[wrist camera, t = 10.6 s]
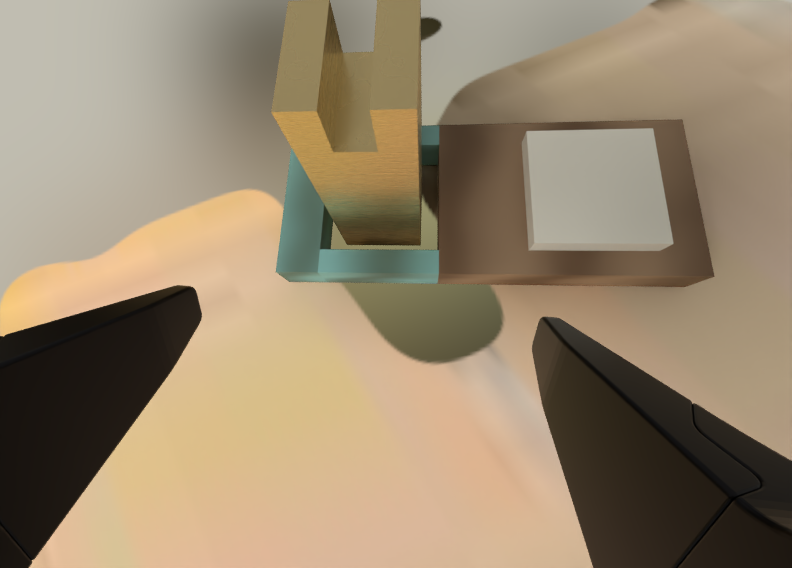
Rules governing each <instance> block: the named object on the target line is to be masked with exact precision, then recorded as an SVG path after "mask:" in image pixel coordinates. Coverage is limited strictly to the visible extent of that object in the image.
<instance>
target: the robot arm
mask: <svg viewBox="0 0 792 568" xmlns="http://www.w3.org/2000/svg"><path fill="white" fill-rule="evenodd" d="M201 318H202V313H201V309H200V305H199V301H198V297H197V293H196V290H195V289H194V288H193V287H191V286H181V285H177V286H173V287H169V288H166V289H162V290H159V291H155V292H152V293H148V294H145V295H141V296H138V297H134V298H131V299H128V300H124V301H121V302H117V303H114V304H110V305H107V306H103V307H100V308H96V309H93V310H89V311H86V312H83V313H79V314H76V315H72V316H69V317H65V318H62V319H58V320H55V321H51V322H48V323H45V324H41V325H38V326H34V327H31V328H27V329H24V330H20V331H17V332H13V333H10V334H7V335H5V336H4V337H3V336H0V568H29V567H30V565H31V564H32V560H34V559H35V558H36V556H37V555H38V554H39V552H40V551H41V550H42V548H43V547H44V546H45V544H46V543H47V541H48V540H49V539H50V537H51V536H52V535H53V533H54V532H55V530H56V529H57V528H58V526H59V525H60V524H61V522H62V521H63V519H64V518H65V517H66V515H67V514H68V513H69V511H70V510H71V508H72V507H73V506H74V504H75V503H76V502H77V500H78V499H79V497H80V496H81V495H82V493H83V492H84V491H85V489H86V488H87V486H88V485H89V484H90V482H91V481H92V480H93V478H94V477H95V475H96V474H97V473H98V471H99V470H100V469H101V467H102V466H103V464H104V463H105V462H106V460H107V459H108V458H109V456H110V455H111V454H112V452H113V451H114V449H115V448H116V447H117V445H118V444H119V443H120V441H121V440H122V438H123V437H124V436H125V434H126V433H127V432H128V430H129V429H130V427H131V426H132V425H133V423H134V422H135V421H136V419H137V418H138V416H139V415H140V414H141V412H142V411H143V410H144V408H145V407H146V405H147V404H148V403H149V401H150V400H151V399H152V397H153V396H154V394H155V393H156V392H157V390H158V389H159V388H160V386H161V385H162V383H163V382H164V381H165V379H166V378H167V377H168V375H169V374H170V372H171V371H172V369H173V368H174V366H175V365H176V363H177V361H178V360H179V358H180V356H181V355H182V353H183V351H184V349H185V348H186V346H187V344H188V343H189V341H190V339H191V337H192V336H193V334H194V332H195V330H196V329H197V327H198V325H199V324H200V321H201ZM532 352H533V358H534V364H535V369H536V374H537V380H538V385H539V391H540V396H541V401H542V405H543V409H544V412H545V416H546V419H547V422H548V425H549V428H550V432H551V435H552V438H553V441H554V444H555V447H556V451H557V454H558V457H559V460H560V463H561V466H562V470H563V473H564V476H565V479H566V482H567V485H568V489H569V492H570V495H571V498H572V501H573V505H574V508H575V511H576V514H577V517H578V520H579V524H580V527H581V530H582V533H583V536H584V539H585V543H586V546H587V549H588V552H589V555H590V558H591V562H592V565H593V568H792V461H791V460H789V459H787V458H786V457H784V456H782V455H780V454H779V453H777V452H775V451H774V450H772V449H770V448H768V447H767V446H765V445H763V444H761V443H760V442H758V441H756V440H754V439H753V438H751V437H749V436H748V435H746V434H744V433H742V432H741V431H739V430H738V429H736V428H734V427H733V426H731V425H729V424H728V423H726V422H724V421H723V420H721V419H719V418H718V417H716V416H715V415H713V414H711V413H710V412H708V411H707V410H705V409H703V408H702V407H700V406H699V405H697V404H695V403H694V404H692V402H691V401H690V400H689V399H687V398H686V397H684V396H683V395H681V394H679V393H678V392H676V391H675V390H673V389H671V388H670V387H668V386H667V385H665V384H663V383H662V382H660V381H659V380H657V379H655V378H654V377H652V376H651V375H649V374H647V373H646V372H644V371H643V370H641V369H639V368H638V367H636V366H635V365H633V364H631V363H630V362H628V361H627V360H625V359H623V358H622V357H620V356H619V355H617V354H615V353H614V352H612V351H611V350H609V349H607V348H606V347H604V346H603V345H601V344H600V343H598V342H596V341H595V340H593V339H592V338H590V337H588V336H587V335H585V334H584V333H582V332H580V331H579V330H577V329H576V328H574V327H572V326H571V325H569V324H568V323H566V322H564V321H563V320H561V319H559V318H554V317H542V318H541V319H540V321H539V323H538V327H537V330H536V334H535V337H534V341H533V345H532Z"/></svg>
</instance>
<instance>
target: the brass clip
mask: <svg viewBox="0 0 792 568" xmlns="http://www.w3.org/2000/svg"><path fill="white" fill-rule="evenodd" d="M420 10H421V8H420V0H377V12H376V26H375V40H374V52H355V53H354V52H353V53H343V52H342V48H341V44H340V40H339V36H338V31H337V28H336V23H335V19H334V16H333V11H332V7H331V3H330V0H304V1H289V2H288V7H287V13H286V20H285V26H284V33H283V40H282V46H281V52H280V59H279V66H278V72H277V79H276V85H275V92H274V98H273V105H272V111H271V112H272V114H273V116H274V117H275V119H276V121H277V123H278V125H279V126H280V128H281V130H282V132H283V133H284V135H285V137H286V139H287V140H288V142H289V144H290V145H291V147H292V149H293V151H294V153H295V154H296V156H297V158H298V160H299V161H300V163H301V165H302V167H303V168H304V170H305V172H306V174H307V175H308V177H309V179H310V181H311V182H312V184H313V186H314V188H315V189H316V191H317V193H318V195H319V196H320V198H321V200H322V202H323V203H324V205H325V207H326V209H327V210H328V212H329V214H330V216H331V217H332V219H333V221H334V222H335V224H336V226H337V228H338V229H339V231H340V233H341V235H342V236H343V238H344V240H345V242H346V243H347V245H420V244H421V201H422V125H421V124H422V122H421V12H420Z"/></svg>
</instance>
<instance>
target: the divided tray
mask: <svg viewBox="0 0 792 568" xmlns="http://www.w3.org/2000/svg"><path fill="white" fill-rule="evenodd" d="M422 165H438V250H349V249H348V250H347V249H340V250H339V249H331V237H332V226H333V219H332V217H331V216H330V214H329V212H328V210H327V209H326V207H325V205H324V203H323V202H322V200H321V198H320V196H319V195H318V193H317V191H316V189H315V188H314V186H313V184H312V182H311V181H310V179H309V177H308V175H307V174H306V172H305V170H304V168H303V167H302V165H301V163H300V161H299V160H298V158H297V156H296V154H295V153H294V151H293V149H292V148H291V156H290V164H289V171H288V179H287V187H286V195H285V203H284V211H283V219H282V227H281V235H280V243H279V251H278V259H277V267H276V272H277V273H278V274H279V275H281V276H282V277H284V278H285V279H286V280H288V281H289V282H351V283H352V282H354V283H355V282H356V283H430V284H431V283H432V284H508V285H586V286H665V287H686V286H689V285H691V284H694V283H697V282H700V281H703V280H706V279H709V278H711V277H714V273H713V268H712V263H711V258H710V253H709V248H708V243H707V238H706V234H705V229H704V224H703V219H702V214H701V209H700V204H699V199H698V194H697V189H696V185H695V180H694V175H693V170H692V165H691V160H690V155H689V150H688V145H687V140H686V136H685V131H684V126H683V121H682V120H642V121H600V122H558V123H517V124H475V125H433V126H422Z"/></svg>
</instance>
